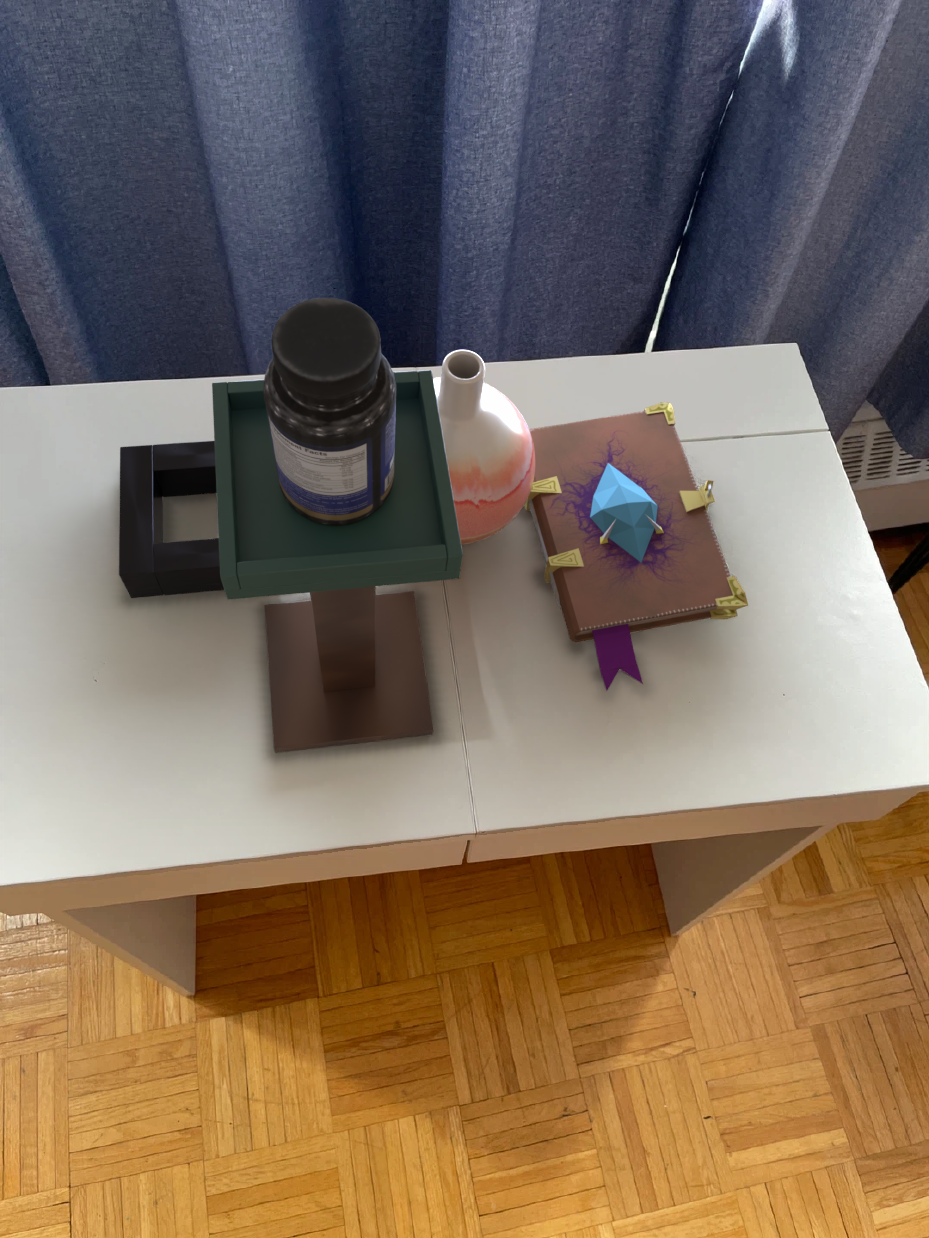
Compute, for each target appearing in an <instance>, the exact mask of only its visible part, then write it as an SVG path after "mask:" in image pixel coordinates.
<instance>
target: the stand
mask: <svg viewBox="0 0 929 1238" xmlns="http://www.w3.org/2000/svg"><path fill="white" fill-rule="evenodd" d="M376 587H377V586H375V587H364V588H353V589H342V590H331V591H320V592H309V596H310V600H301V601H289V602H281V603H280V602H279V603H271V604H269V603H268V604H264V615H265V618H264V619H265V630H266V631H265V633H266V648H267V663H268V678H269V694H270V695H269V696H270V709H271V721H272V722H271V723H272V724H271V726H272V740H273V751H274V752H275V753H276V754H277V753H287V752H295V751H303V750H313V749H321V748H331V747H340V746H347V745H355V744H366V743H374V742H382V741H391V740H400V739H409V738H417V737H426V736H427V737H428V736H433V735H434V722H433V716H432V715H433V714H432V709H431V701H430V700H431V699H430V694H429V687H428V679H427V673H426V667H425V666H426V665H425V658H424V652H423V645H422V644H423V643H422V637H421V630H420V623H419V615H418V610H417V602H416V601H417V600H416V594H415V590H411V591H399V592H389V593H388V592H387V593H378V594H377V592H376Z"/></svg>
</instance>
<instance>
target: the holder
mask: <svg viewBox="0 0 929 1238" xmlns="http://www.w3.org/2000/svg"><path fill="white" fill-rule="evenodd" d="M213 494H214V495H215V494H217V489H216V465H215V442H214V440H203V441H188V442H175V443H174V442H173V443H160V444H159V443H157V444H143V445H129V446H120V447H119V514H118V515H119V516H118V517H119V520H118V521H119V522H118V523H119V525H118V529H119V531H118V576H119V578H120V580H121V582H122V583H123V586H124V588H125V589H126V591H127V593H128V595H129V597H130V599H141V598H152V597H162V596H174V595H185V594H186V595H187V594H196V593H197V594H198V593H209V592H219V591H225V590H224V587H223V584H222V581H221V577H220V559H219V537H213V538H202V539H201V538H200V539H190V540H189V539H188V540H177V541H176V540H175V541H165V542H164V498H173V497H174V498H175V497H186V496H187V497H188V496H199V495H213Z"/></svg>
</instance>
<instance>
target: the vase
mask: <svg viewBox="0 0 929 1238" xmlns="http://www.w3.org/2000/svg"><path fill="white" fill-rule="evenodd" d="M485 375H486V365H485V362H484V360H483V358H482V357H481V356H480V355H479V354H477V353H476V352H474V351H471V350H469V349H457V350H453V351H451V352H449V353H448V354H447V355H446V356H445V357H444V359H443V361H442V365H441V372H440V376H436V377H433V380H434V385H435V391H436V397H437V403H438V409H439V415H440V421H441V427H442V433H443V439H444V445H445V451H446V457H447V463H448V468H449V474H450V480H451V486H452V492H453V498H454V504H455V510H456V516H457V522H458V528H459V534H460V540H461V546H462V545H469V544H473V543H477V542H480V541H484V540H485V539H488V538H489V537H492V536H495V535H496V534H497V533H498V532H499V533H500V531H503V530H504V529H505V528H506V527H507V526H508V525H509V524H510V523H511V522H512V521H513V520H514V519H516V517H517V516H518V515H519V513H520V512H521V510H522V509H523V507H525V505H524V504H525V502H526V500H527V498H528V496H529V494H530V491H531V488H532V484H533V481H534V474H535V450H534V444H533V440H532V436H531V433H530V430H529V429H530V427H529V426H528V423H527V421H526V419H525V417H524V416H523V414H522V413H521V412H520V410H519V409H518V407H517V406H516V404H514V403H513V401H511V400H510V398H509V397H508V396H506V395H505V394H504V393H502V392H501V391H500V390H498V389H497V388H496V387H493V386H492V385H490V384H488V383H486V382H485V378H486V377H485Z"/></svg>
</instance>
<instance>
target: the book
mask: <svg viewBox="0 0 929 1238" xmlns="http://www.w3.org/2000/svg"><path fill="white" fill-rule="evenodd" d="M675 425H676V417H675V409H674V407H673V405H672V404H671V403H670V402H659V403H655V404H653V405H650V406H647V407H645V408H644V410H641V411H634V412H628V413H621V414H616V415H609V416H602V417H597V418H596V417H595V418H591V419H584V420H577V421H571V422H564V423H558V424H557V423H556V424H551V425H546V426H538V427H533V428H529V430H530V433H531V436H532V440H533V444H534V450H535V474H534V481H533V484H532V488H531V491H530V494H529V496H528V498H527V500H526V502H525V504H524V509H525V512H530V513H531V518H532V521H533V524H534V527H535V530H536V534H537V535H536V536H537V538H538V542H539V545H540V549H541V553H542V556H543V560H544V563H545V569H544V573H543V576H544V580H545V583H546V584H548V583H549V584H551V588H552V592H553V595H554V598H555V600H556V603H557V605H558V608H559V610H560V611H561V613H562V616H563V620H564V624H565V627H566V630H567V634H568V638H569V640H570V641H571V642H573V643H575V644H578V643H584V642H589V641H593V642H594V648H595V652H596V657H597V662H598V667H599V670H600V674H601V677H602V681H603V685H604V687H605V690H606V692H608V691H609V689H610V687H611V685H612V683H613V681H614V680H615V678H616V677H617V674H618V673H619V671H621V672H623V673H624V674H626V675H628V676H629V677H630V678H632V679H633V680H636V681H637V682H638V683H640V684H642V685H644V682H643V679H642V676H641V672H640V669H639V666H638V662H637V657H636V654H635V649H634V645H633V640H632V635H631V634H632V633H639V632H643V631H649V630H653V629H659V628H664V627H670V626H675V625H676V626H677V625H680V624H686V623H693V622H697V621H703V620H707V619H708V620H709V619H710V620H730V619H732V618H733V619H734V618H737V617H738V615H739V614H738V611H737V610H739V609H743V608H746V607H748V606H749V602H748V598H747V594H746V591H745V589H744V588H743V587H742V585H741V583H740V582H739V580H738V579H737V577H736V575H731V573H730V569H729V567H728V564H727V562H726V559H725V557H724V554H723V552H722V548H721V546H720V543H719V541H718V538H717V536H716V533H715V530H714V527H713V524H712V522H711V519H710V516H709V513H708V510H709V505H710V504H713V503H716V500H715V496H714V495H713V492H712V489H713V487H714V482H715V481H714V480H709V479H707V480H706V481H705V483H704V484H701V485H700V486H699V487H698V485H697V484H698V483H697V482H696V480H695V476H694V474H693V470H692V469H691V466H690V463H689V460H688V458H687V456H686V453H685V450H684V448H683V447H684V446H683V445H682V442H681V440H680V436H679V433H678V431H677V429H676V426H675Z"/></svg>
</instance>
